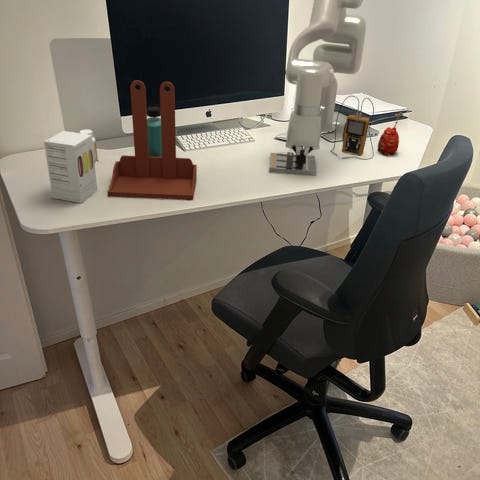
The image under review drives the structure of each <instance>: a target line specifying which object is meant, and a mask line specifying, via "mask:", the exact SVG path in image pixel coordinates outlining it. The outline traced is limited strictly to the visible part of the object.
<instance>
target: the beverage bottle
mask: <svg viewBox="0 0 480 480" xmlns="http://www.w3.org/2000/svg"><path fill="white" fill-rule="evenodd" d="M146 109H147V128H148V148H149V157H162V138H161V112H160V107H157V106H150V107H149V106H148V107H146ZM148 117H149V118H148Z"/></svg>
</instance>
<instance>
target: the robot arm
mask: <svg viewBox="0 0 480 480" xmlns="http://www.w3.org/2000/svg"><path fill="white" fill-rule="evenodd" d="M363 2H364V0H313V2H312V8H311V9H312V10H311V15H310V20H309V24H308V26H307V27H306V28H305V29H304V30H302V31H301V32H300V33H299V34H298V36H296V38H295V39H294V41H293V42H292V44H291V46H290V49H289V54H288V58H287V62H286V66H285V67H286V69H285V77H286V80H287V82H288V83H290V84H291V85H296V89H295V97H294V108H293V110H292V111H291V112H290V116H289V119H288V126H287V132H286V142H285V148H286V149H290V150H292V151H293V153H294V154H297V157H296V164H298V167H300V165H301V167H303V164H306V156H307V155H309V154H310V153H311V152H313V151H318V150H319V151H320V143H321V132H330V131H333V130H335V128H336V129H337V125H336V124H333V122H334V114H335V108H336V99H337V94H338V93H337V92H338V80H337V79H336V77H335V73H336V74H344V75H345V74H346V75H354V74H357V73H358V72H359V70H360V67H361V64H362V60H363V52H364V47H365V46H364V45H365V39H366V38H365V37H366V30H367V29H366V28H367V25H366V21H365V18H364V17H362V16H360V15H357V14H356V15H354V14H347V9H358V8H360V7H361V6H362V5H363ZM320 40H321V41H324V42H327V43H322V44H319V45H317V46H316V47H315V48H314V51H313V55H312V59H305V58H304V59H303V58H299V56H300V53H301V52H302V50H304V48H305V47H306V46H308V45H310V44H312V43H315V42H317V41H320ZM300 146H303V149H304V151H303V152H302V155H301V151H300Z"/></svg>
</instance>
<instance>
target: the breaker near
mask: <svg viewBox="0 0 480 480" xmlns="http://www.w3.org/2000/svg"><path fill="white" fill-rule="evenodd" d="M286 154H287V161H286V168H292V167H293V158H294V154H295V152H294V151H293V152H292V151H287V152H286Z"/></svg>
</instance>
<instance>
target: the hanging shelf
mask: <svg viewBox="0 0 480 480" xmlns="http://www.w3.org/2000/svg"><path fill="white" fill-rule="evenodd" d="M136 86H139V87H140V88H139V89H137V88H136ZM129 87H130V88H129V89H130V102H131V103H130V105H131V117H132V132H133V133H132V134H133V145H134V147H133V148H134V155H125V154H124V155H121V156H120V158H119V161H115V163H114V165H113V169H112V174H111V175H112V176H111V181H110V185H109V187H108V190H107V191H106V192H107V197H108V198H109V197H110V198H130V199H131V198H132V199H154V200H177V201H180V200H181V201H194V195H195V192H196V185H197V176H198V175H197V173H198V172H197V171H198V168H197V167H198V165H197V164H194V163H193V161H192V159H191V158H189V157H177V137H176V135H177V134H176V102H175V101H176V96H175V95H176V94H175V92H176V91H175V86H174V84H173V83H172V82H170V81H164V82H162V83H161V84H160V86H159V106H160V107H159V108H160V112H161V116H160V119H161V138H162V157H149V148H148V128H147V119H148V116H147V96H146V94H147V93H146V92H147V91H146V85H145V84H144V82H143V81H141V80H136V79H135V80H133V81H132V82H131V83H130V86H129ZM165 87H168V88H169V91H167V90H166V89H165Z"/></svg>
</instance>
